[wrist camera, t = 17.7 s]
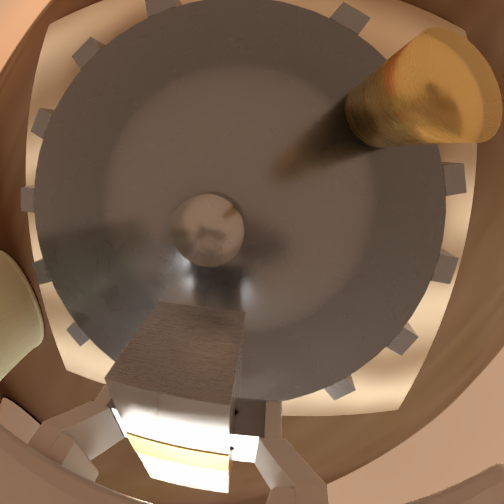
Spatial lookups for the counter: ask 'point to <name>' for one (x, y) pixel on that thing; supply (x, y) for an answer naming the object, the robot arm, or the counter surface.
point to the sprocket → (258, 182)
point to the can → (17, 315)
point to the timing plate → (457, 206)
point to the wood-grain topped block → (182, 392)
